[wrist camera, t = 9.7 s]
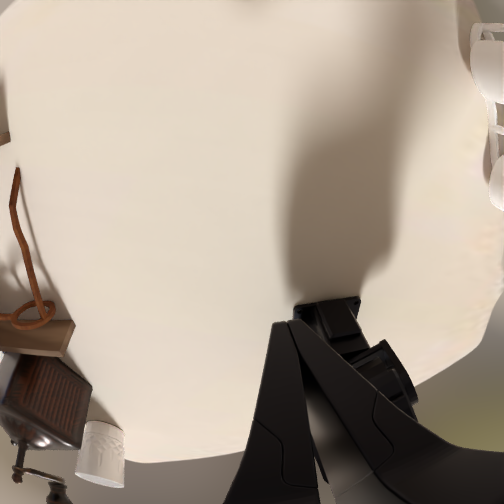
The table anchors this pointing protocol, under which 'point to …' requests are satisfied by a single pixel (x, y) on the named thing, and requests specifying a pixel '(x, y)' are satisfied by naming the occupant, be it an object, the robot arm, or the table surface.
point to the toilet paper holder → (490, 95)
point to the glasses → (29, 269)
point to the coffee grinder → (42, 411)
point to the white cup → (102, 455)
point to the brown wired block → (39, 339)
